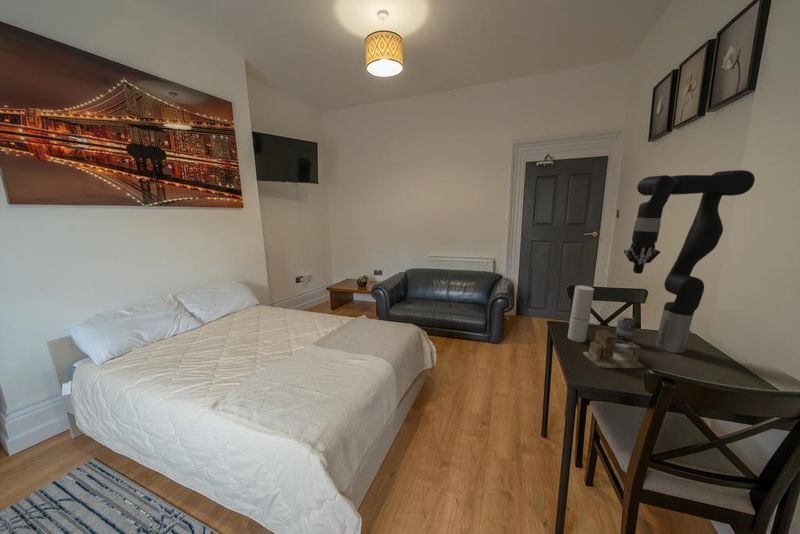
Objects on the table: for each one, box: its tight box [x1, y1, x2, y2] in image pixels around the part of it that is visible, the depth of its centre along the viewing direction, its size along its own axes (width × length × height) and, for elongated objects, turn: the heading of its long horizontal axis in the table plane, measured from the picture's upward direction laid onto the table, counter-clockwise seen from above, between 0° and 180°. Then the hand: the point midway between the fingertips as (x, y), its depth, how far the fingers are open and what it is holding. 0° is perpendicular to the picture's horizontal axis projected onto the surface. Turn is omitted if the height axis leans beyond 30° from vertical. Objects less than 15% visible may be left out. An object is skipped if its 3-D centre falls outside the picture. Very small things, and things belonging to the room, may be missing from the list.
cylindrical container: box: [567, 285, 595, 343], centre depth 129 cm, size 7×7×25 cm
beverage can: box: [614, 315, 636, 344], centre depth 128 cm, size 6×7×12 cm
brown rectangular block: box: [594, 329, 617, 359], centre depth 112 cm, size 4×6×10 cm, turn 179°
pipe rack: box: [582, 341, 645, 369], centre depth 113 cm, size 17×10×7 cm, turn 89°
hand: (637, 273), depth 112 cm, fingers closed
